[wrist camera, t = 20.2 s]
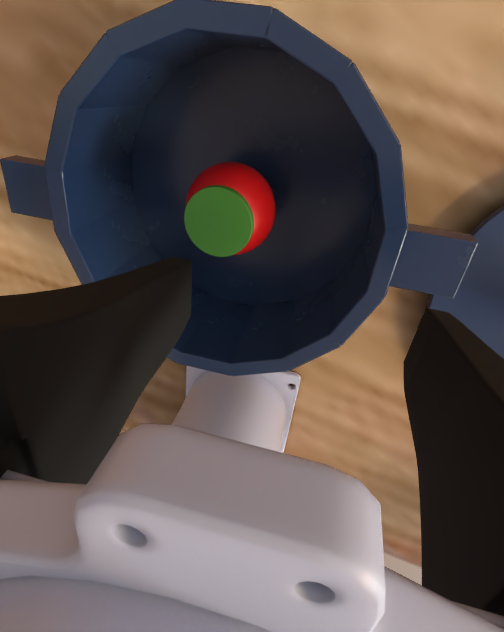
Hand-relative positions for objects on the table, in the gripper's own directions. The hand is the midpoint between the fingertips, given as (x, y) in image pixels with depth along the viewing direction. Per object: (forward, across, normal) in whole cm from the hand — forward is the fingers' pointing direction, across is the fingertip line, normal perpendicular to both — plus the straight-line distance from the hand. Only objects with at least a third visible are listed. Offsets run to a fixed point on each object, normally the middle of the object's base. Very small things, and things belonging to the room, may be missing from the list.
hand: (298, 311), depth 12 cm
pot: (+10, +4, 0) cm, 11 cm away
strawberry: (+10, +4, 0) cm, 11 cm away
